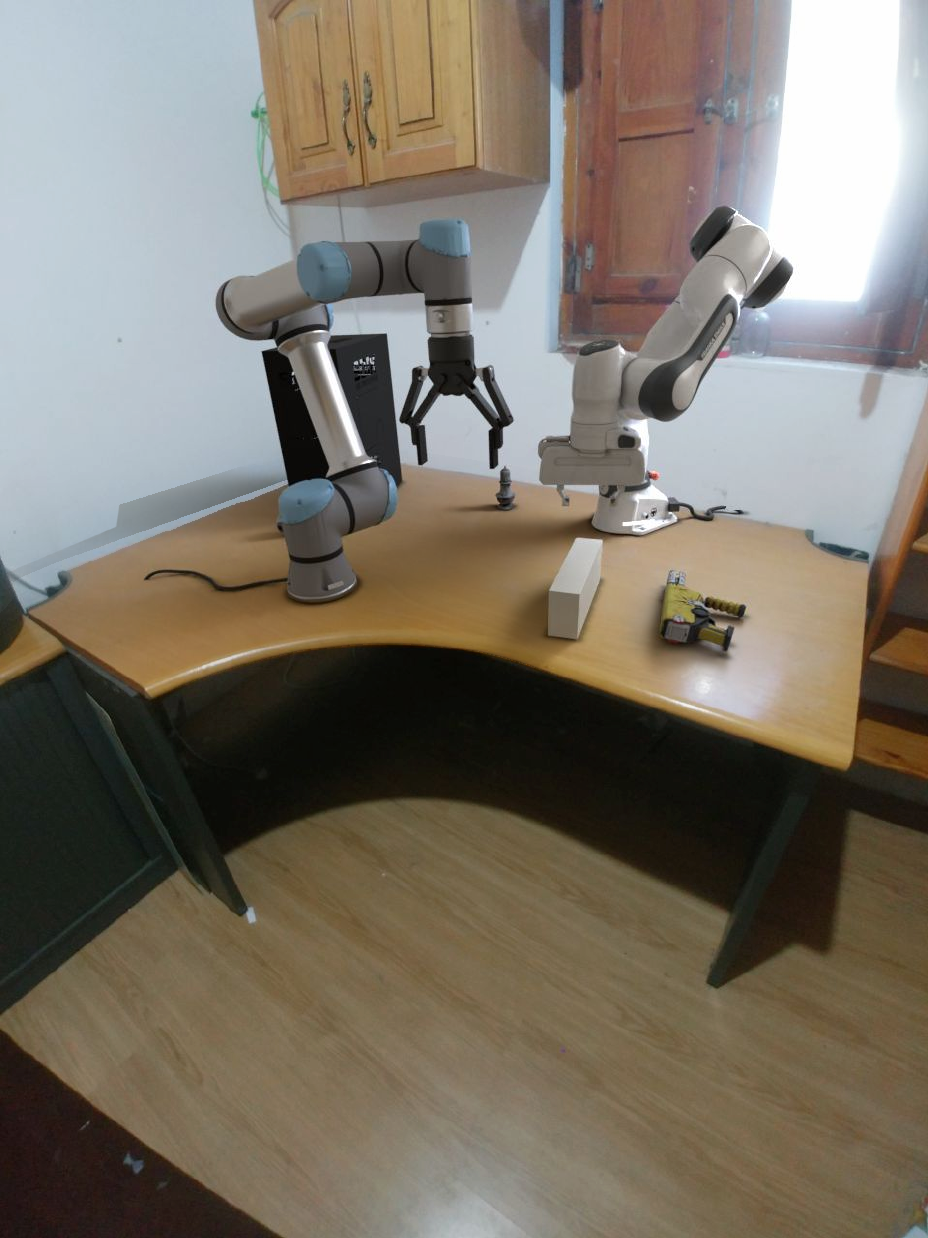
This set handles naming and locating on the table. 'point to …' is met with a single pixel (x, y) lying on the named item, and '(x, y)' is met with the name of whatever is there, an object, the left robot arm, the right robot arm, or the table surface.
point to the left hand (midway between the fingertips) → (457, 465)
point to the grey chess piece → (505, 491)
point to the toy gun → (693, 614)
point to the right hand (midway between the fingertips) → (589, 505)
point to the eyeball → (279, 525)
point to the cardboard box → (364, 398)
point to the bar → (574, 588)
